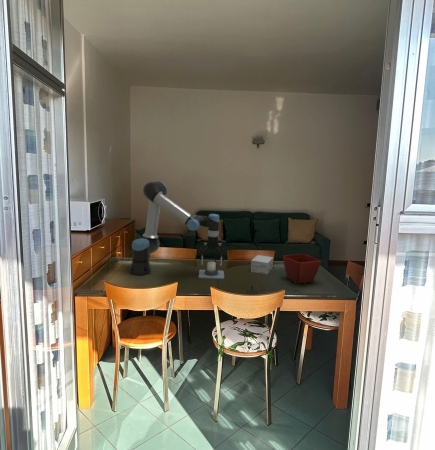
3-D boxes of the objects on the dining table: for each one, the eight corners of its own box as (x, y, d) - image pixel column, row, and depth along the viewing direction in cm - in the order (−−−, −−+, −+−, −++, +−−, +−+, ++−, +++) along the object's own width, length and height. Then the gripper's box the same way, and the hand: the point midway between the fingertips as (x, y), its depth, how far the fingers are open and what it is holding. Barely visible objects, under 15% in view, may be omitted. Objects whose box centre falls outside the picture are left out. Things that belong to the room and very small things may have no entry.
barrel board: (198, 278, 235) (198, 273, 234) (199, 270, 251) (199, 266, 250) (224, 279, 235) (224, 274, 235) (223, 271, 251) (223, 267, 250)
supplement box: (256, 266, 270) (257, 254, 269) (272, 268, 266) (273, 257, 264) (250, 271, 255) (251, 259, 253) (267, 274, 250) (268, 262, 248)
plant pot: (280, 277, 245) (282, 255, 242) (301, 275, 253) (303, 253, 250) (296, 286, 228) (299, 262, 225) (319, 283, 236) (321, 260, 232)
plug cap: (207, 272, 246) (207, 261, 244) (215, 272, 246) (215, 261, 244) (207, 274, 240) (207, 263, 238) (215, 275, 240) (215, 264, 239)
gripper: (195, 236, 234) (193, 265, 238) (231, 238, 234) (229, 267, 238) (195, 233, 241) (194, 262, 245) (230, 235, 242) (228, 264, 246)
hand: (211, 264), depth 242 cm, fingers open, 13 cm apart
